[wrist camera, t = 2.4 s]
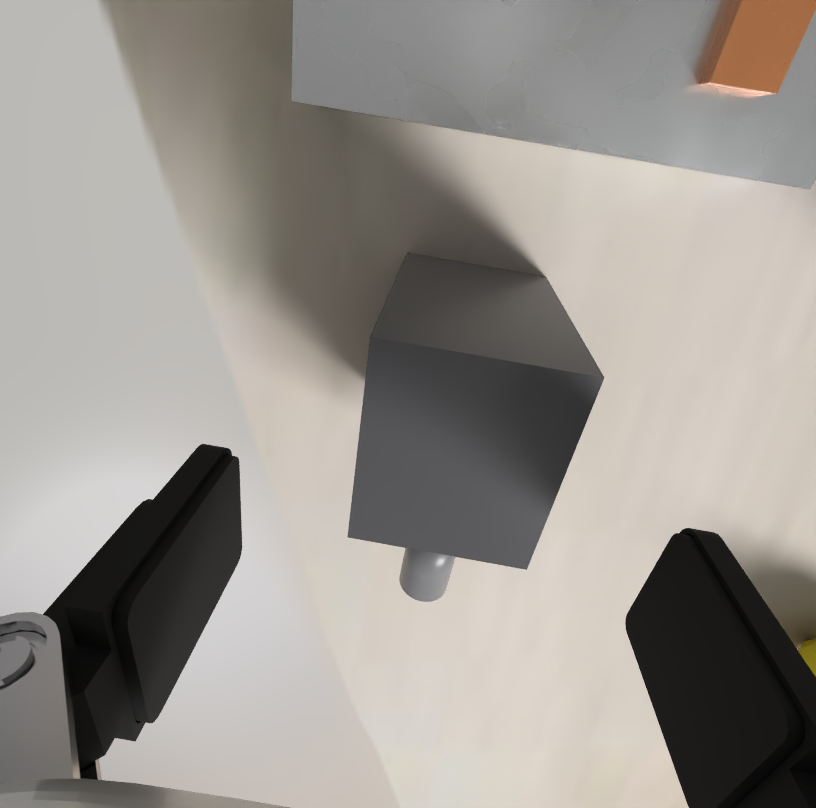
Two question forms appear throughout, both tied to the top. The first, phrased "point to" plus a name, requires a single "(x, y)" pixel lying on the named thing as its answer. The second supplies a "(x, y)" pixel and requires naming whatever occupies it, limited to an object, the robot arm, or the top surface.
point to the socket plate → (580, 75)
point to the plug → (467, 418)
